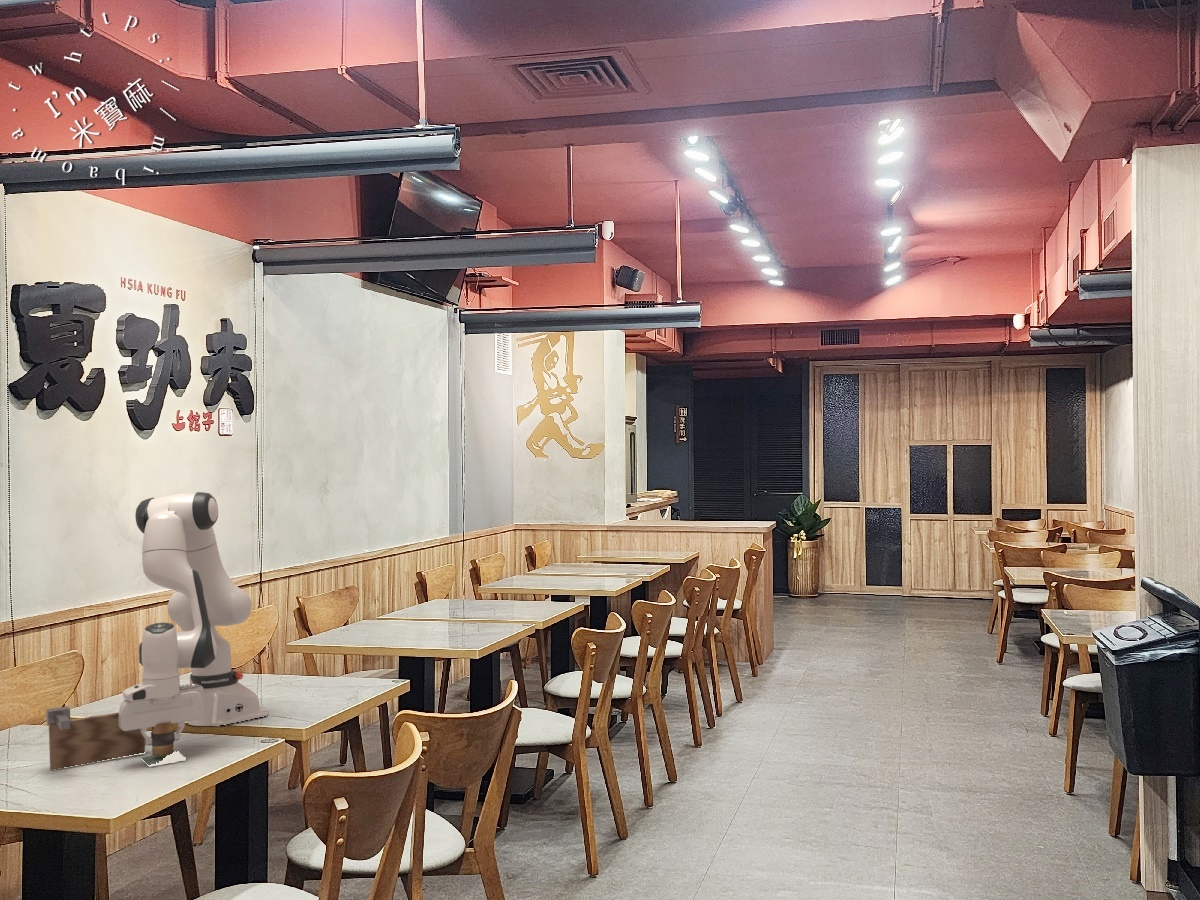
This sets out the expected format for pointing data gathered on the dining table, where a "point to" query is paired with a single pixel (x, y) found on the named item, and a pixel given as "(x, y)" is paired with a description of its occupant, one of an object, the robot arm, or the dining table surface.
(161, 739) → the spool
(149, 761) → the mat
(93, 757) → the board
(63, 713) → the clamp bar
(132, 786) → the dining table surface
